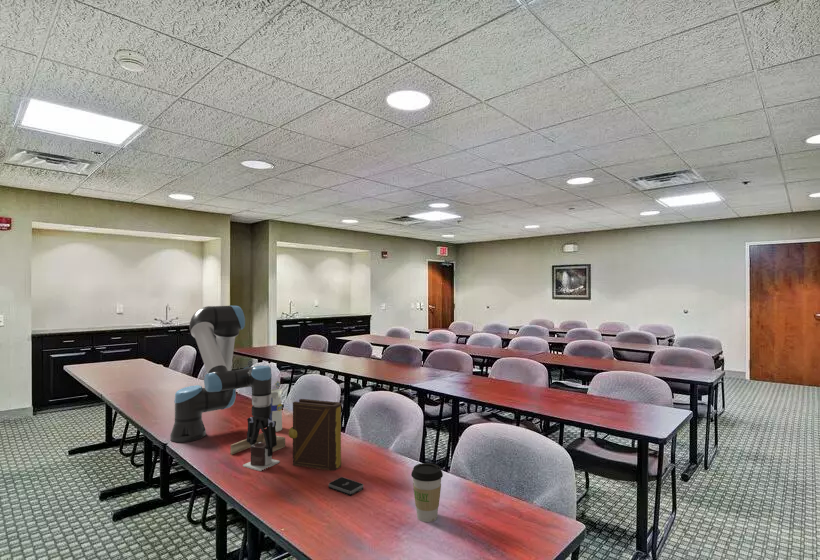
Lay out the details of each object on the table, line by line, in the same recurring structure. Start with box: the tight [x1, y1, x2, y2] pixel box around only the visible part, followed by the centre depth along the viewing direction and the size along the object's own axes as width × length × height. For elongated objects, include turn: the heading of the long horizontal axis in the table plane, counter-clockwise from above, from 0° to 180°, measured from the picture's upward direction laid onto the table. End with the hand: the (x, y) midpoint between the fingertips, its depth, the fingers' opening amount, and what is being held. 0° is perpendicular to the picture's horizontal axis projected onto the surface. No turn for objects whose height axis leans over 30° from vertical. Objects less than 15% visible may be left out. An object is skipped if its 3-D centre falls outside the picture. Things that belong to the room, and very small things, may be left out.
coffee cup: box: [411, 462, 444, 523], centre depth 139 cm, size 10×10×15 cm
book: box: [288, 398, 342, 472], centre depth 180 cm, size 22×8×25 cm, turn 71°
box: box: [250, 442, 270, 466], centre depth 180 cm, size 6×6×7 cm
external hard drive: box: [328, 476, 364, 497], centre depth 158 cm, size 7×11×2 cm, turn 55°
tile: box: [242, 458, 281, 472], centre depth 180 cm, size 10×10×1 cm
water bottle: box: [270, 381, 284, 433], centre depth 224 cm, size 8×9×25 cm
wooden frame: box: [230, 432, 286, 455], centre depth 195 cm, size 14×18×4 cm
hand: (261, 462), depth 180 cm, fingers closed on box, 7 cm apart
